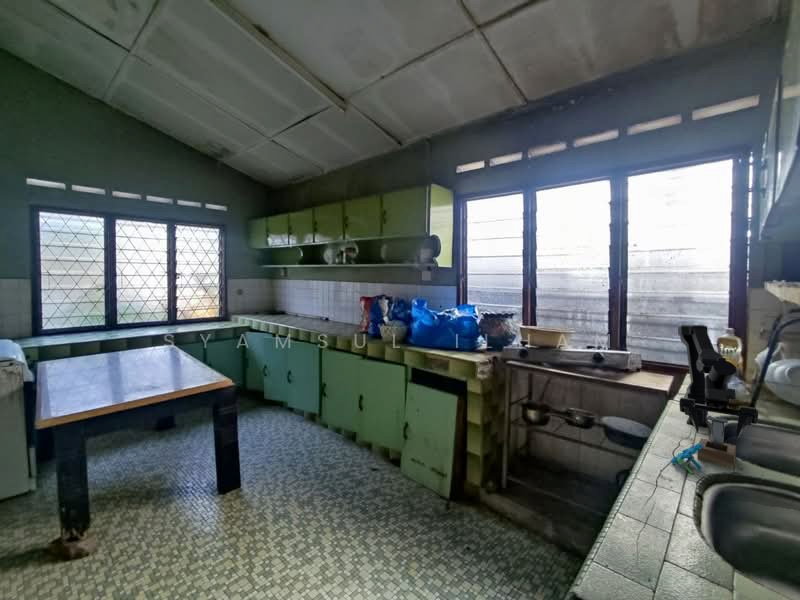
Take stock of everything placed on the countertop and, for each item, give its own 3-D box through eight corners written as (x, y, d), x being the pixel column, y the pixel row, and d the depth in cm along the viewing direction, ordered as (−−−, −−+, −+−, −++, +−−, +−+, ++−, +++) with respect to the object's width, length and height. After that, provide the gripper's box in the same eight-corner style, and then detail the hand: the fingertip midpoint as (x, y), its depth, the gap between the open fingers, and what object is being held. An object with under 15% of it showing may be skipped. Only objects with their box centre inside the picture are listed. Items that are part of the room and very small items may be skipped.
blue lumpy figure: (678, 450, 116) (704, 437, 109) (694, 467, 113) (722, 455, 106) (661, 464, 110) (687, 452, 103) (678, 483, 107) (706, 472, 100)
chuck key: (704, 453, 116) (706, 413, 115) (725, 458, 113) (727, 417, 111) (703, 456, 114) (705, 416, 112) (725, 462, 110) (727, 420, 109)
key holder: (700, 449, 119) (700, 437, 118) (735, 458, 113) (735, 445, 112) (697, 459, 113) (697, 446, 112) (733, 468, 107) (734, 455, 106)
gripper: (679, 373, 121) (677, 416, 113) (758, 382, 108) (761, 430, 101) (681, 390, 127) (679, 431, 119) (755, 400, 115) (758, 447, 107)
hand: (716, 434), depth 111 cm, fingers open, 9 cm apart
